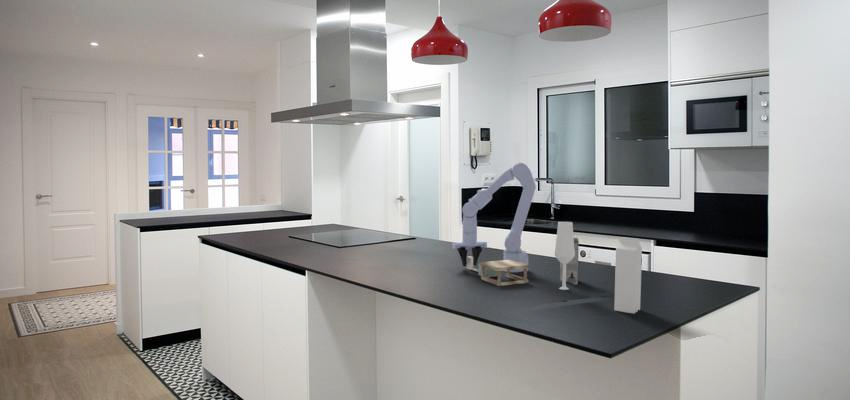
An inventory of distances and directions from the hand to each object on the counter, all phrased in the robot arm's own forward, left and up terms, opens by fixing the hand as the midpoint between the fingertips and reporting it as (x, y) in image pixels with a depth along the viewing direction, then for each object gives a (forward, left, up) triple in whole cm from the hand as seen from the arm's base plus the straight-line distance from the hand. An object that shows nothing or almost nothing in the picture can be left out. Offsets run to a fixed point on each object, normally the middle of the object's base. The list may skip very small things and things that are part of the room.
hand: (469, 265), depth 230 cm
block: (0, +8, -1) cm, 8 cm away
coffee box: (-24, +32, -3) cm, 40 cm away
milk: (-14, +71, -3) cm, 72 cm away
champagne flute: (-12, +44, -3) cm, 46 cm away
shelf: (0, +21, -3) cm, 21 cm away
